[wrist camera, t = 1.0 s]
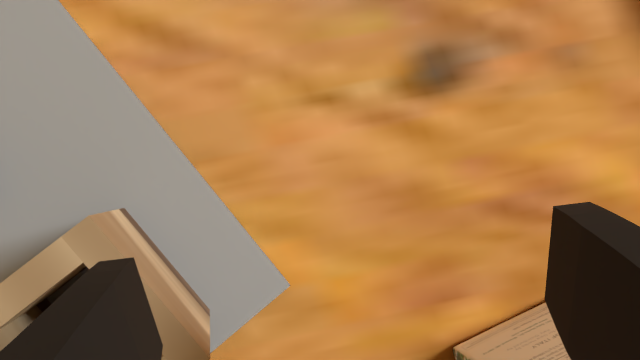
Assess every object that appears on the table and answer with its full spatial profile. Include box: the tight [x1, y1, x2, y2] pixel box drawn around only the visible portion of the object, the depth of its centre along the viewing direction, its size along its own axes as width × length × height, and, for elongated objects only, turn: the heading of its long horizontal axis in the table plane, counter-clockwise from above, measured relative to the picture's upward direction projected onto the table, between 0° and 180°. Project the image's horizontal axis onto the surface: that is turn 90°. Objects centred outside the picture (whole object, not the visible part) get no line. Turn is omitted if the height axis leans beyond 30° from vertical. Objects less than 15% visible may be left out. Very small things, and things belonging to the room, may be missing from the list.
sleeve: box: [0, 208, 210, 360], centre depth 17 cm, size 5×5×6 cm
